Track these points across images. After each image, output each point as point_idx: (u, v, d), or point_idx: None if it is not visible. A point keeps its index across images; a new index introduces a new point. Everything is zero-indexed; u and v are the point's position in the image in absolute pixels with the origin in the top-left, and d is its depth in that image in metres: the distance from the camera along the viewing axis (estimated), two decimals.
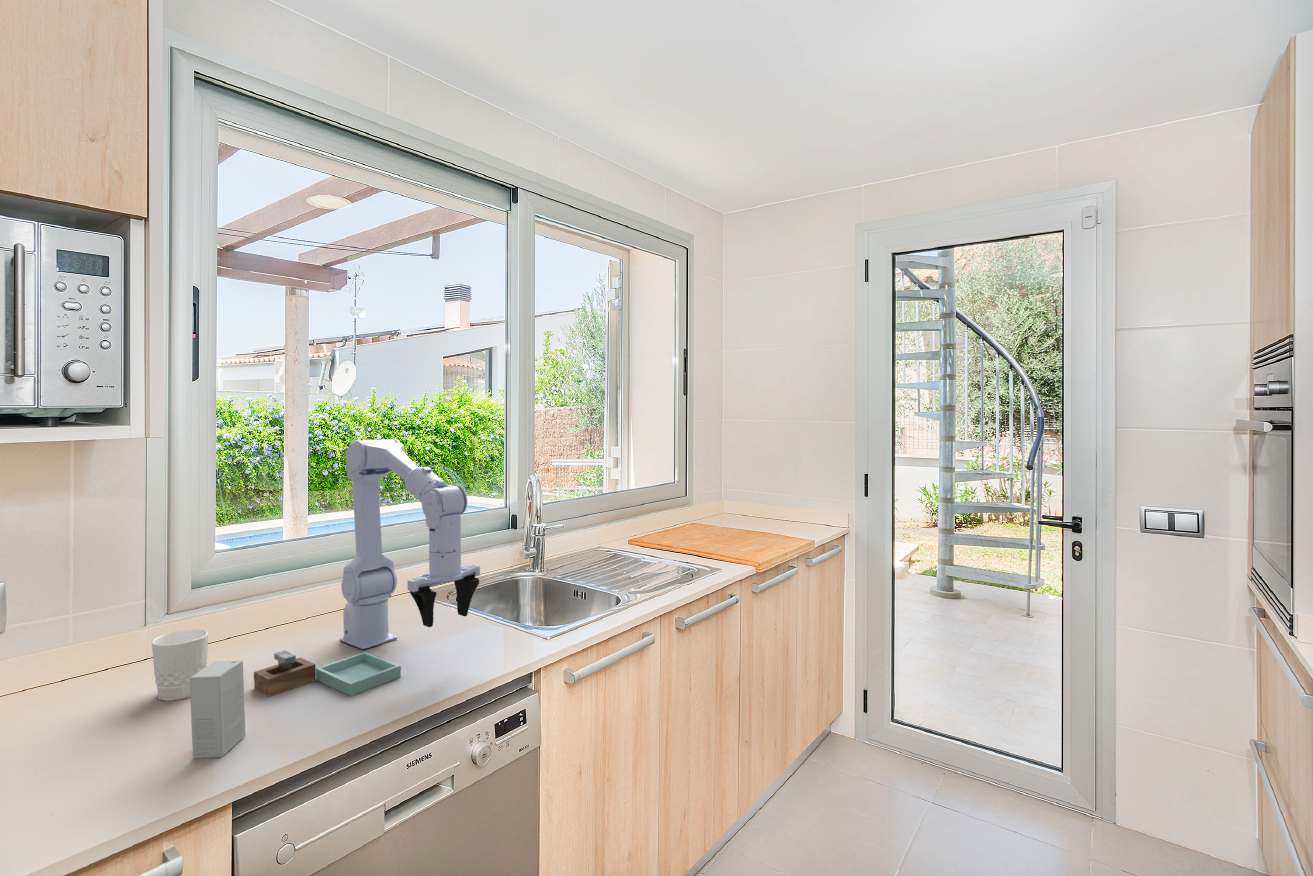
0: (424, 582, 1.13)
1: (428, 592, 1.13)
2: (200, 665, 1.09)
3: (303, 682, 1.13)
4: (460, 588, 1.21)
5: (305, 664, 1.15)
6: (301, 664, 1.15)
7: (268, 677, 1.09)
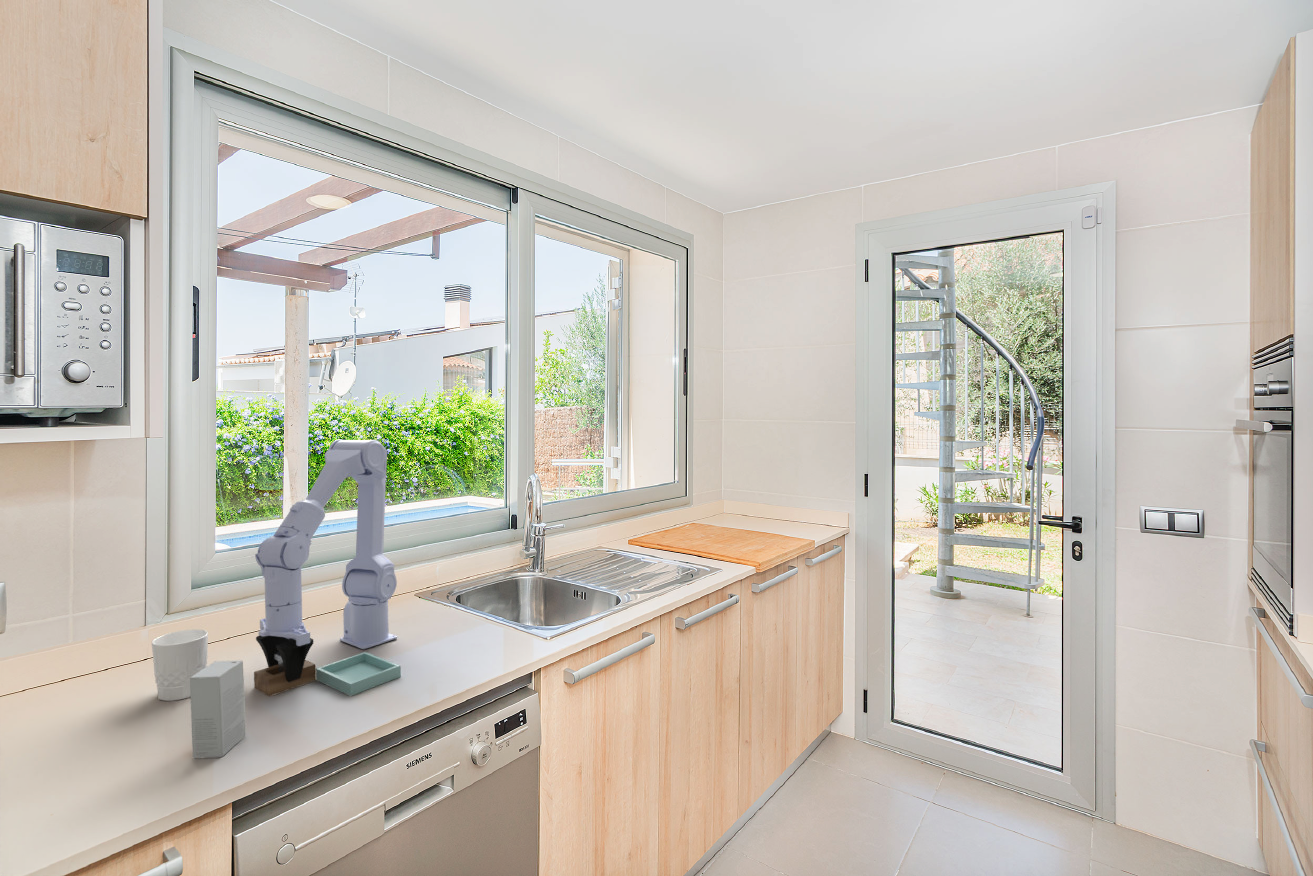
0: (263, 624, 1.15)
1: (262, 636, 1.13)
2: (200, 665, 1.09)
3: (303, 682, 1.13)
4: None
5: (305, 664, 1.15)
6: None
7: (268, 677, 1.09)
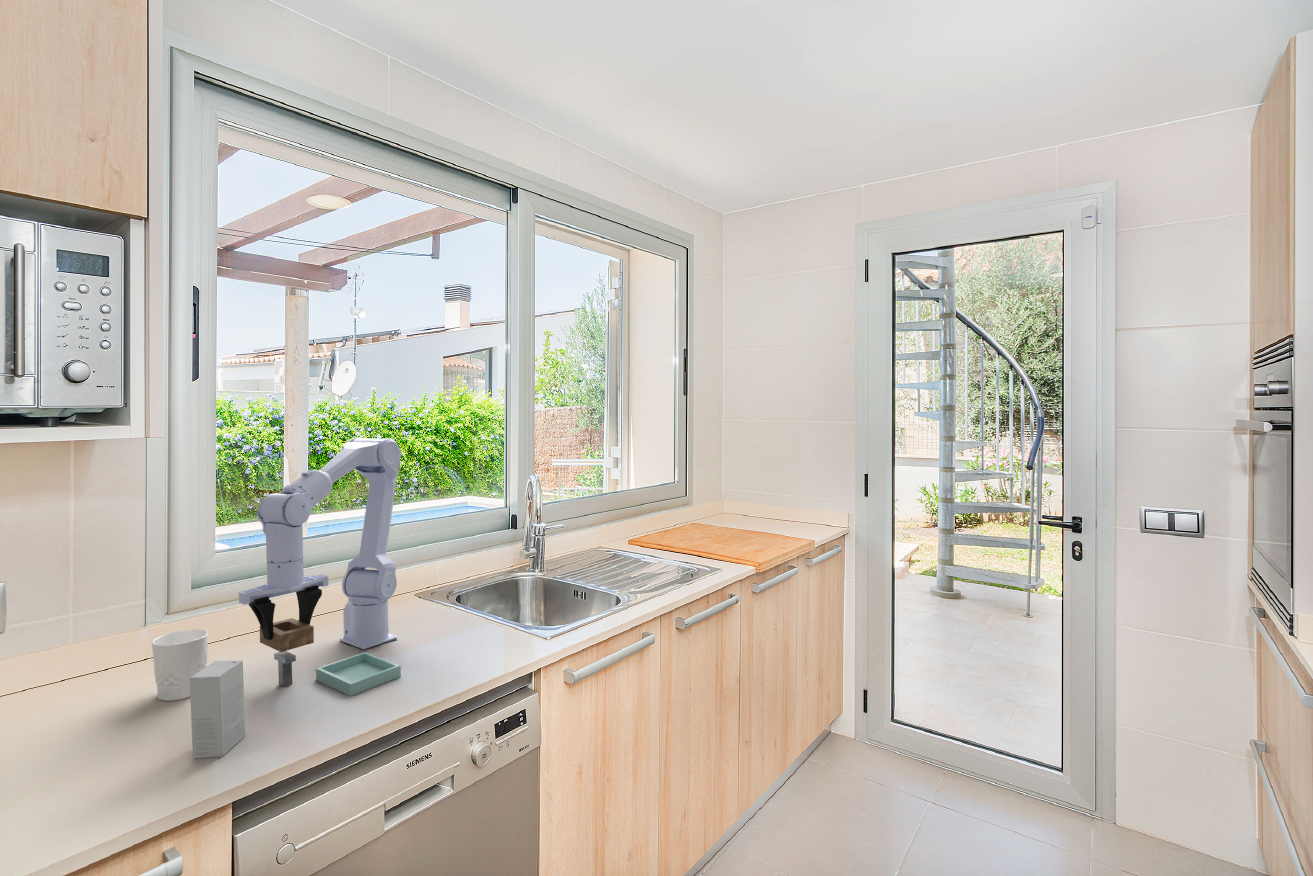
0: (257, 594, 1.07)
1: (266, 603, 1.08)
2: (200, 665, 1.09)
3: None
4: (301, 600, 1.15)
5: (287, 621, 1.16)
6: (282, 623, 1.15)
7: (307, 627, 1.12)
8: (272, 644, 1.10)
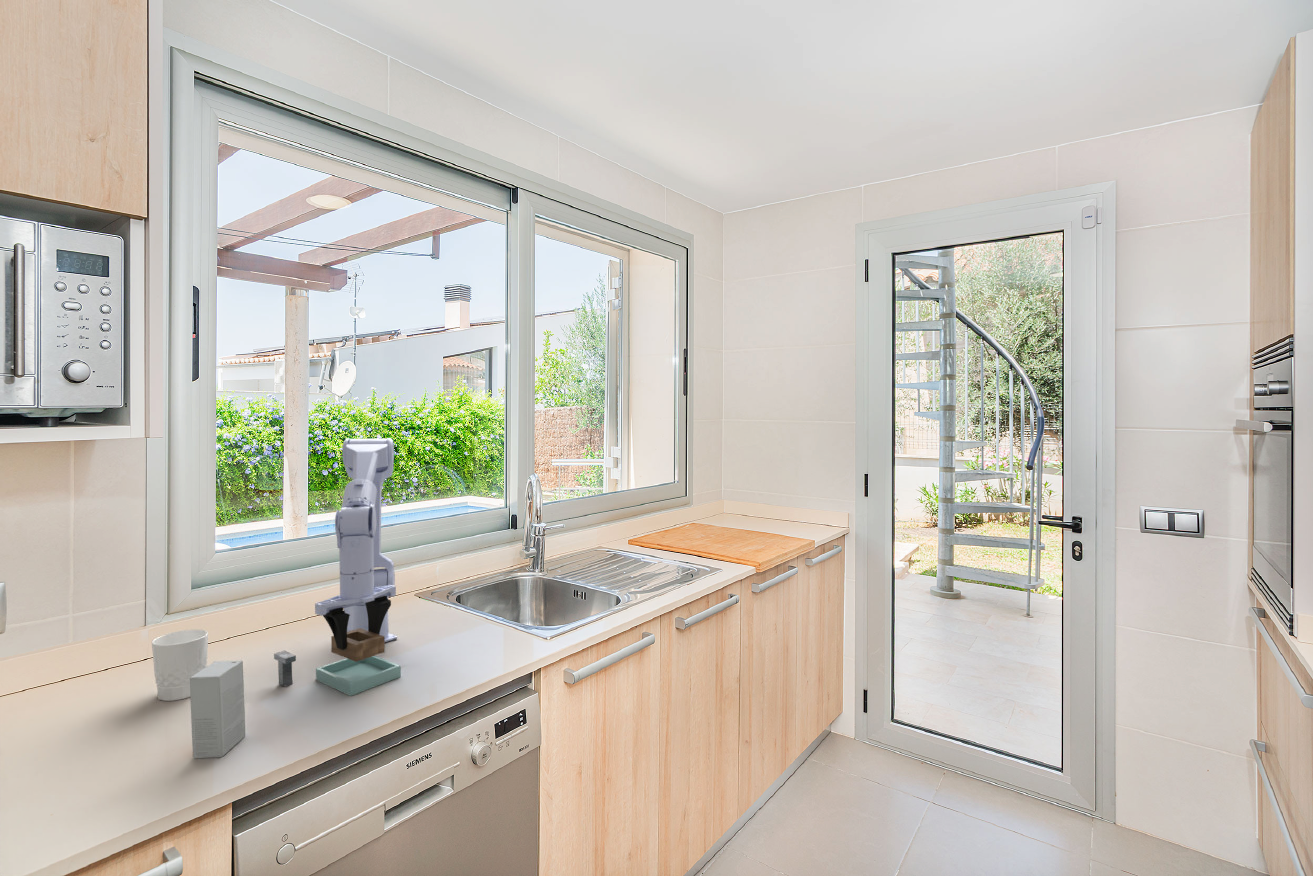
0: (333, 605, 1.10)
1: (341, 614, 1.11)
2: (200, 665, 1.09)
3: None
4: (371, 610, 1.18)
5: (356, 631, 1.18)
6: (352, 633, 1.17)
7: (379, 637, 1.15)
8: (346, 653, 1.13)
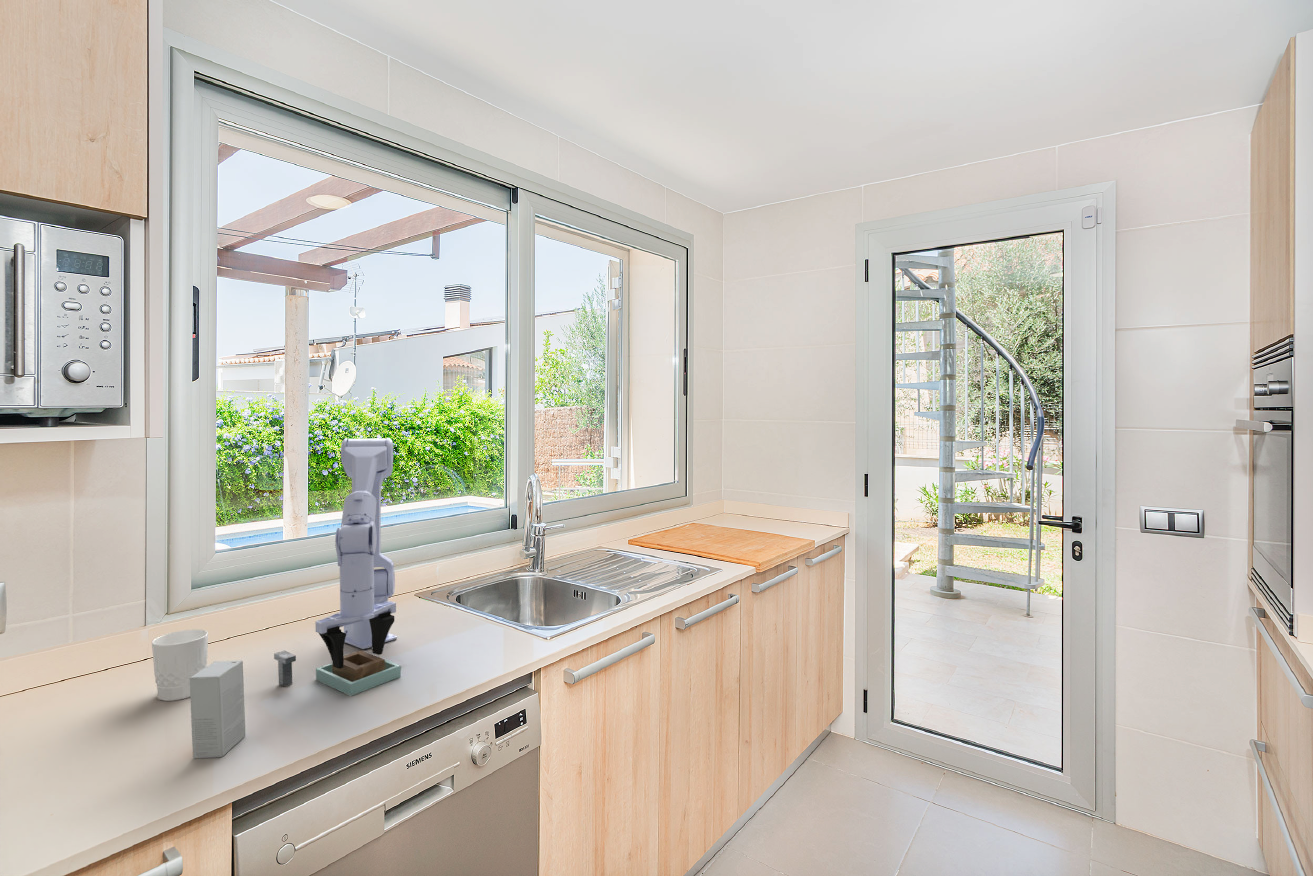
0: (333, 623, 1.10)
1: (337, 633, 1.10)
2: (200, 665, 1.09)
3: None
4: (375, 626, 1.19)
5: (357, 653, 1.18)
6: (353, 656, 1.18)
7: (379, 660, 1.15)
8: (346, 677, 1.13)
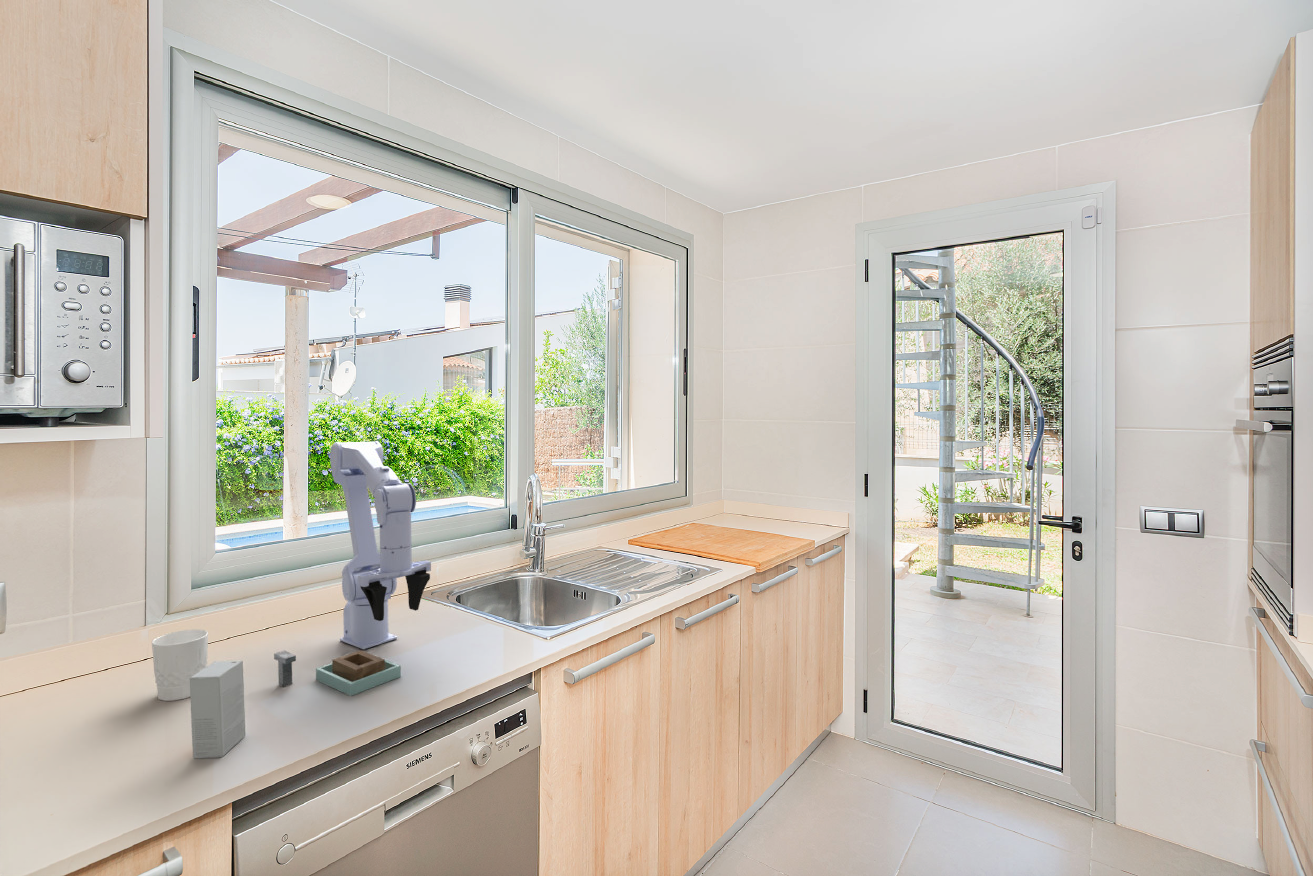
0: (374, 577, 1.17)
1: (378, 587, 1.17)
2: (200, 665, 1.09)
3: None
4: (411, 583, 1.25)
5: (357, 653, 1.18)
6: (353, 656, 1.18)
7: (379, 660, 1.15)
8: (346, 677, 1.13)
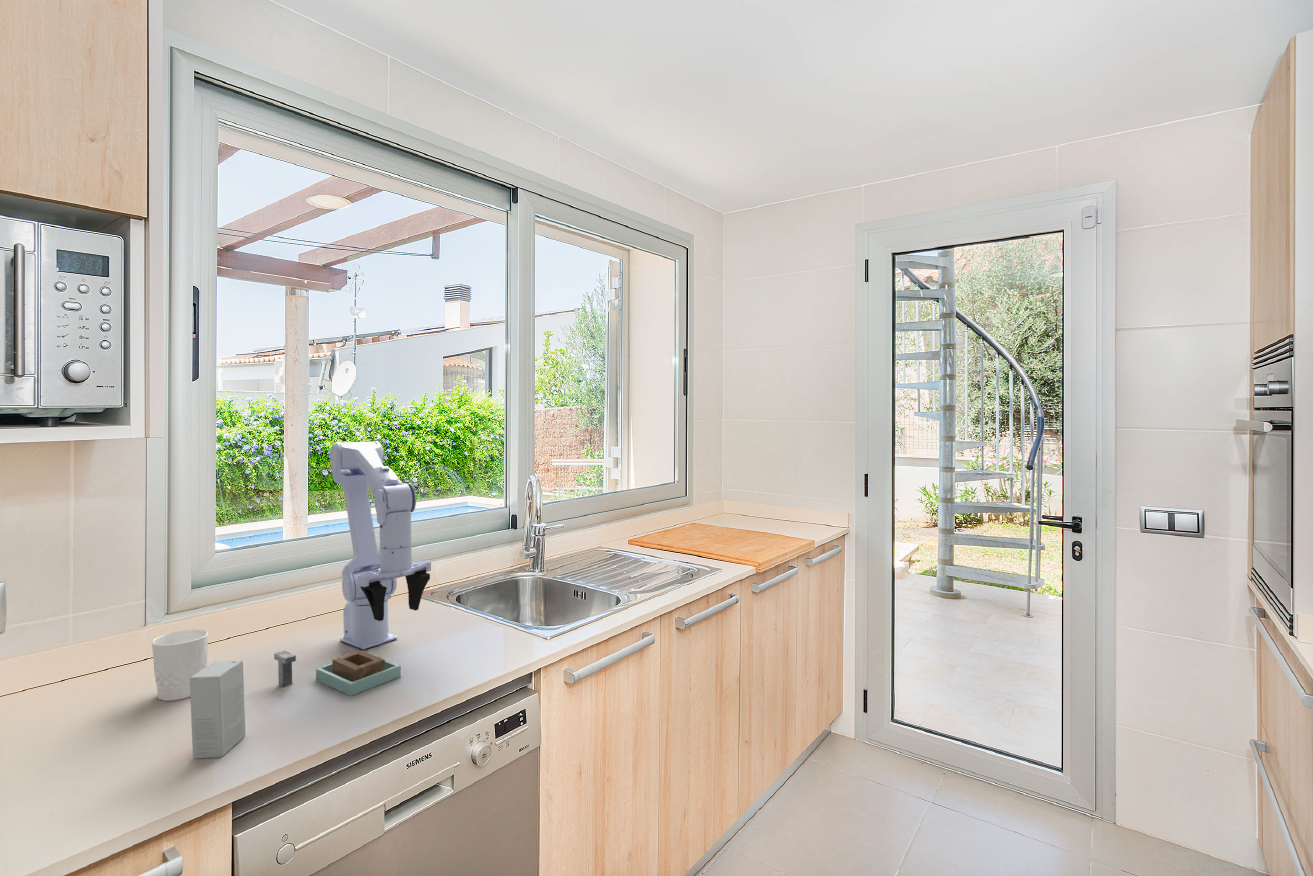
0: (374, 577, 1.17)
1: (378, 587, 1.17)
2: (200, 665, 1.09)
3: None
4: (411, 583, 1.25)
5: (357, 653, 1.18)
6: (353, 656, 1.18)
7: (379, 660, 1.15)
8: (346, 677, 1.13)
